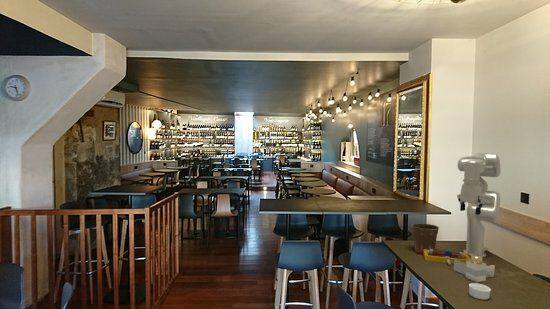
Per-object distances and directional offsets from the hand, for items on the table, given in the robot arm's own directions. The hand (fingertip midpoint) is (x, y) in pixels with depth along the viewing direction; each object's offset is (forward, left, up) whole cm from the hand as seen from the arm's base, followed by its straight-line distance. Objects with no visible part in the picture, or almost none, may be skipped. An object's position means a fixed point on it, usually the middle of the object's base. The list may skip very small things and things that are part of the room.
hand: (470, 212), depth 202 cm
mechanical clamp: (+4, -13, -32) cm, 35 cm away
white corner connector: (+7, +10, -31) cm, 33 cm away
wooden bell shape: (+12, +15, -30) cm, 36 cm away
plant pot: (+2, -31, -32) cm, 44 cm away
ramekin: (+28, +30, -32) cm, 51 cm away
